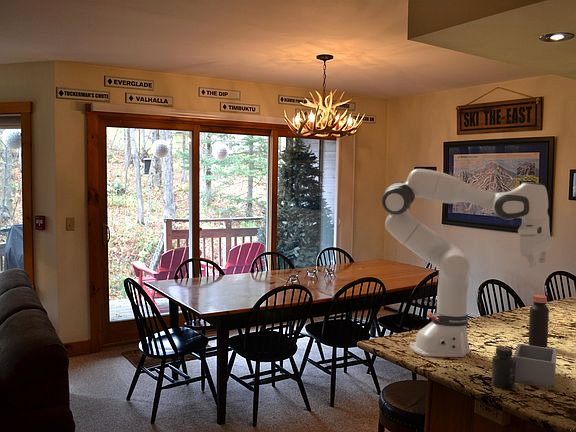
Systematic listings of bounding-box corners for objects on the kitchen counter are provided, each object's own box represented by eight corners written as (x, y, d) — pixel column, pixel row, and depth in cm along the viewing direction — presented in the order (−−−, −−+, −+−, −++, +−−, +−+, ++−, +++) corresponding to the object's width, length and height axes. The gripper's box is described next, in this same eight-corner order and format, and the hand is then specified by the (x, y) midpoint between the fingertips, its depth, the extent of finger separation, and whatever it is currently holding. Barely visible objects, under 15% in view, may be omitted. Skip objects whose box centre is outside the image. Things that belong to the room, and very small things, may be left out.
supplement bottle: (508, 381, 167) (510, 345, 166) (518, 390, 160) (520, 352, 159) (487, 381, 167) (489, 345, 166) (497, 390, 160) (498, 352, 159)
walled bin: (553, 388, 162) (554, 363, 161) (512, 380, 167) (513, 356, 167) (555, 372, 176) (556, 349, 175) (517, 365, 181) (518, 343, 181)
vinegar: (549, 349, 200) (551, 298, 199) (530, 347, 202) (532, 297, 201) (544, 343, 207) (546, 294, 206) (526, 342, 208) (528, 293, 207)
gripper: (536, 223, 194) (538, 259, 195) (515, 230, 179) (517, 269, 180) (554, 223, 189) (556, 260, 190) (534, 230, 175) (536, 270, 176)
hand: (537, 265), depth 185 cm, fingers open, 8 cm apart
